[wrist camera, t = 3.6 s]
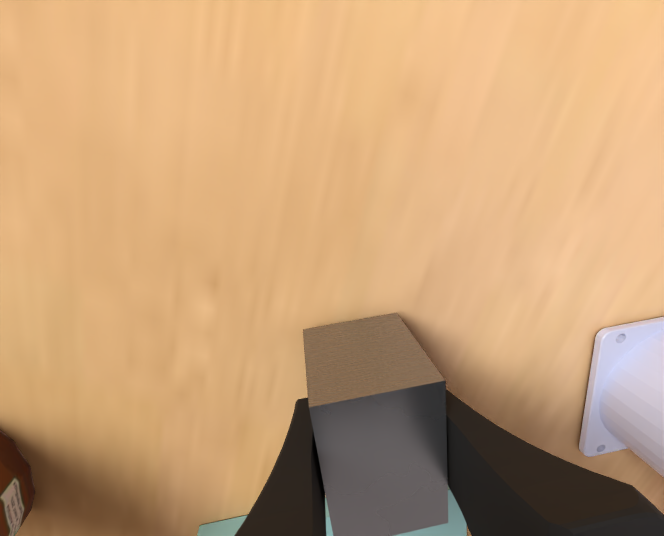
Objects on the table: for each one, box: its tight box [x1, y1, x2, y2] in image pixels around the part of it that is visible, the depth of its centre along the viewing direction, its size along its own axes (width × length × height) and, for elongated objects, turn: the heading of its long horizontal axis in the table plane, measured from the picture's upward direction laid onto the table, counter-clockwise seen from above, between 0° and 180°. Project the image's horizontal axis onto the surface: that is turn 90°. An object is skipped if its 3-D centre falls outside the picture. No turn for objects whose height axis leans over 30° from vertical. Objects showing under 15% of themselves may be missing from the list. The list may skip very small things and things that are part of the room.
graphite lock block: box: [303, 313, 448, 536], centre depth 12 cm, size 4×6×4 cm, turn 8°
